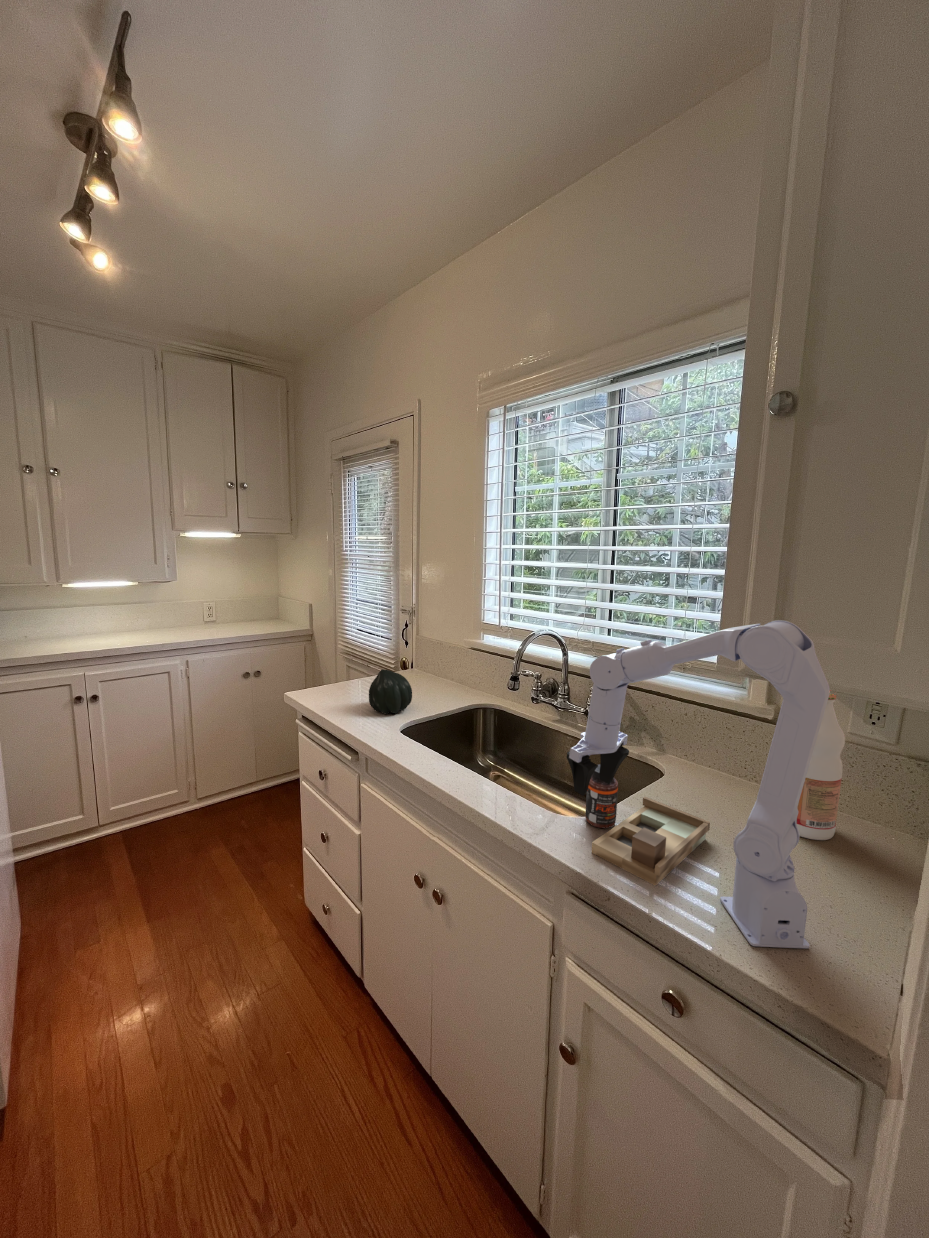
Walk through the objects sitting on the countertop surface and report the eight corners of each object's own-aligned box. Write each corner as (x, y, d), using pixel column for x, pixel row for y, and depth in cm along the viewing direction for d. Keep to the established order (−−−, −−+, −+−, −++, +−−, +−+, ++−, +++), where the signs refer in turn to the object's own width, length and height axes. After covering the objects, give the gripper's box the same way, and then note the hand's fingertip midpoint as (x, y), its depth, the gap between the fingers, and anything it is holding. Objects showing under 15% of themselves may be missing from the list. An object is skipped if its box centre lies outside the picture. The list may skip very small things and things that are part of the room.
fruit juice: (768, 823, 99) (782, 688, 96) (790, 811, 105) (804, 682, 101) (821, 847, 92) (839, 700, 88) (843, 832, 97) (860, 693, 93)
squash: (427, 694, 167) (403, 658, 171) (399, 707, 155) (373, 668, 158) (403, 715, 174) (381, 680, 178) (374, 729, 162) (351, 691, 165)
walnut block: (653, 869, 81) (655, 846, 81) (631, 858, 84) (632, 836, 84) (664, 859, 84) (666, 837, 84) (642, 848, 87) (644, 827, 87)
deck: (658, 887, 80) (659, 866, 79) (589, 851, 89) (590, 832, 89) (708, 839, 94) (710, 821, 93) (643, 812, 103) (644, 796, 103)
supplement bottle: (595, 832, 96) (597, 778, 94) (579, 815, 101) (581, 764, 99) (622, 827, 97) (625, 773, 95) (605, 810, 103) (608, 760, 101)
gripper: (609, 703, 96) (598, 767, 99) (560, 717, 87) (550, 786, 90) (642, 717, 91) (629, 784, 94) (593, 733, 82) (581, 806, 85)
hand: (592, 786), depth 92 cm, fingers open, 7 cm apart
